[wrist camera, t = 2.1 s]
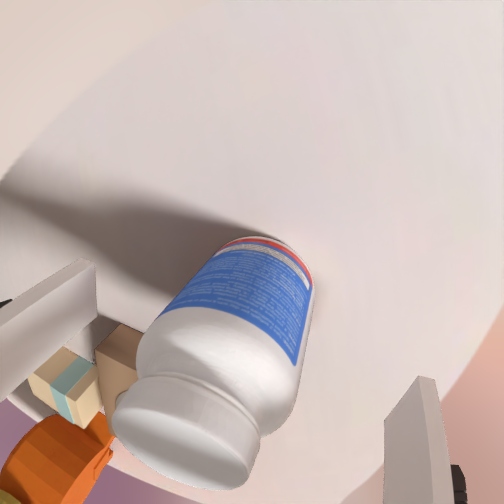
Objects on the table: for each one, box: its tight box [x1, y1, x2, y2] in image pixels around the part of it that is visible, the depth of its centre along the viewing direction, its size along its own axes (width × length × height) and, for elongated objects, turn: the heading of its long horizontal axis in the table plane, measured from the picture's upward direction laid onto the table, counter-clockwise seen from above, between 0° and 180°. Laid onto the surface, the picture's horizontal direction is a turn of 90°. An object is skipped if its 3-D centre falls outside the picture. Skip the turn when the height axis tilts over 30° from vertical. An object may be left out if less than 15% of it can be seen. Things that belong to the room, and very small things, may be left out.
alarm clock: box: [0, 411, 115, 504], centre depth 19 cm, size 13×6×20 cm, turn 155°
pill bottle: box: [112, 236, 315, 490], centre depth 11 cm, size 6×5×10 cm
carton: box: [27, 346, 103, 429], centre depth 22 cm, size 6×4×4 cm
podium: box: [95, 324, 144, 438], centre depth 19 cm, size 10×10×3 cm
